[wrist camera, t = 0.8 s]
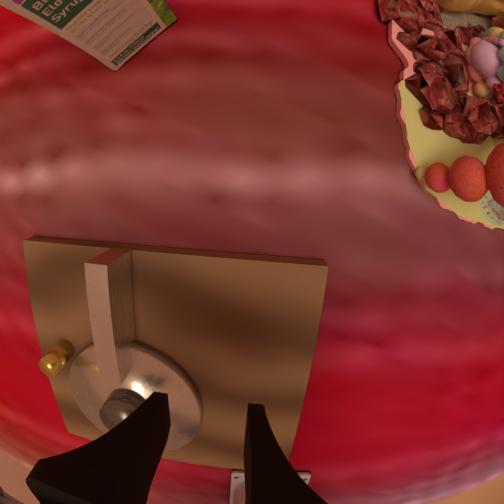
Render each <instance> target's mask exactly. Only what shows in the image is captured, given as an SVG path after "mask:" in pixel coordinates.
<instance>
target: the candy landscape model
mask: <svg viewBox="0 0 504 504" xmlns="http://www.w3.org/2000/svg"><path fill="white" fill-rule="evenodd" d="M378 6H379V11H380V15H381V19H382V22H388V26H389V29H388V43H389V44H390V46H391V47H392V48H393V50H394V51H395V52H396V54H397V55H398V56H399V58H400V59H401V61H402V63H403V65H404V70H403V71H401V72H400V74H399V78H400V80H399V81H398V82H397V84H396V85H395V86H394V92H395V94H396V98H397V111H396V117H397V119H398V121H399V123H400V124H401V127H402V133H403V141H404V144H405V147H406V152H405V156H406V159H407V161H408V163H409V165H410V167H411V169H412V171H413V172H414V174H415V176H416V178H417V180H418V182H419V184H420V186H421V187H422V190H424V191H425V192H427V193H429V194H430V195H432V196H433V197H434V199H435V201H436V203H437V205H438V206H439V207H441V208H444V209H447V210H450V211H451V212H452V213H454V215H455V216H456V217H457V218H459V219H463V220H465V221H468V222H471V223H477V222H480V223H481V225H482V226H484V227H487V228H489V229H494V228H502V229H504V0H378Z"/></svg>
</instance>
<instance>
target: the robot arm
mask: <svg viewBox="0 0 504 504" xmlns="http://www.w3.org/2000/svg"><path fill="white" fill-rule="evenodd" d="M170 427H171V419H170V410H169V401H168V394H167V393H161V392H156V391H155V392H153V393H152V394H151V395H150V396H149V397H148V398H147V399H146V400H145V401H144V402H143V403H142V404H141V405H140V406H139V407H138V408H137V409H136V410H134V411H133V412H132V413H131V414H130V415H129V416H128V417H126V418H125V419H124V420H123V421H122V422H120V423H119V424H118V425H116V426H115V427H114V428H112V429H111V430H110V431H108V432H107V433H105V434H104V435H102V436H100V437H99V438H97V439H95V440H93V441H92V442H90V443H88V444H86V445H84V446H82V447H79V448H77V449H74V450H72V451H69V452H66V453H63V454H60V455H57V456H53V457H48V458H44V459H39V461H38V462H37V463H36V464H35V466H34V467H33V469H32V471H31V472H30V474H29V475H28V477H27V478H26V483H27V486H28V487H29V489H30V490H31V491H32V493H33V494H34V495H35V497H36V498H37V499H38V500H39V501H40V504H146V502H147V498H148V494H149V490H150V486H151V483H152V480H153V477H154V474H155V472H156V469H157V467H158V464H159V462H160V459H161V457H162V454H163V451H164V449H165V446H166V444H167V440H168V436H169V432H170ZM310 478H311V474H310V473H309V472H296V471H295V469H294V468H293V467H292V465H291V464H290V462H289V461H288V459H287V458H286V456H285V455H284V453H283V451H282V449H281V448H280V446H279V444H278V442H277V440H276V438H275V436H274V434H273V431H272V429H271V427H270V424H269V421H268V418H267V415H266V412H265V406H264V405H263V404H251V403H248V408H247V418H246V428H245V440H244V471H240V470H234V471H232V474H231V489H230V504H328V503H327V502H325V501H324V500H323V499H322V498H321V497H320V496H318V495H317V494H316V493H315V492H314V491H313V490H312V489H311V488H310V487H309V486H308V483H309V480H310ZM0 504H23V503H22V502H20V501H18V500H16V499H15V498H13V497H12V496H10V495H8V494H7V493H5V492H4V491H3V490H2V488H1V487H0Z"/></svg>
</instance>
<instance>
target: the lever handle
mask: <svg viewBox="0 0 504 504" xmlns="http://www.w3.org/2000/svg"><path fill="white" fill-rule="evenodd" d="M84 266H85V279H86V289H87V299H88V307H89V315H90V322H91V329H92V336H93V343H91V344H89V345H88V346H87V347H86V348H85V349H84V350H83V351H82V352H81V353H80V354H79V355H78V356H77V357H76V359H75V360H74V361H73V363H72V365H71V369H70V374H69V381H70V387H71V391H72V394H73V397H74V399H75V401H76V403H77V405H78V406H79V408H80V409H81V411H82V412H83V413H84V415H85V416H86V417H87V418H88V419H89V420H90V421H91V422H92V423H93V424H94V425H95V426H96V427H97V428H98V429H99V430H101V431H102V432H103V433H107V432H108V431H110V430H111V429H112V428H114V427H115V426H116V425H118V424H119V423H120V422H122V421H123V420H124V419H125V418H126V417H128V416H129V415H130V414H131V413H132V412H133V411H134V410H136V409H137V408H138V407H139V406H140V405H141V404H142V403H143V402H144V401H145V400H146V399H147V398H148V397H149V396H150V395H151V394H152V393H153V392H155V391H156V392H161V393H167V394H168V401H169V410H170V419H171V427H170V432H169V436H168V440H167V444H166V446H165V449H164V451H171V450H175V449H178V448H181V447H183V446H185V445H186V444H188V443H189V442H190V441H191V440H192V439H193V438H194V437H195V436H196V434H197V432H198V429H199V426H200V422H201V417H202V410H203V408H202V401H201V397H200V394H199V392H198V390H197V388H196V386H195V384H194V383H193V381H192V380H191V378H190V377H189V376H188V375H187V373H186V372H185V371H184V370H183V369H182V368H181V367H180V366H179V365H178V364H176V363H175V362H174V361H173V360H172V359H170V358H169V357H167V356H166V355H164V354H163V353H161V352H159V351H157V350H156V349H154V348H152V347H149V346H147V345H145V344H142V343H139V342H136V333H135V322H134V309H133V293H132V271H131V250H120V249H109V250H107V251H105V252H103V253H101V254H99V255H98V256H96V257H94V258H92V259H90V260H88V261H87V262H85V263H84Z"/></svg>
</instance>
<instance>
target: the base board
mask: <svg viewBox="0 0 504 504" xmlns="http://www.w3.org/2000/svg"><path fill="white" fill-rule="evenodd" d="M23 245H24V256H25V265H26V273H27V281H28V288H29V294H30V300H31V306H32V311H33V316H34V321H35V326H36V330H37V335H38V339H39V343H40V347H41V351H42V355H43V357H44V356H45V355H46V354H47V353H48V352H49V351H50V350H51V349H52V348H53V347H54V346H55V345H57V344H58V343H59V342H60V341H61V340H63V339H64V340H67V341H69V342H70V343H71V344H72V345H73V347H74V349H75V355H74V356H73V357H72V358H71V359H70V360H69V361H68V362H67V363H66V365H65V366H64V367H63V368H62V369H61V370H60V371H59V372H58V373H57V374H56V375H55V377H52V378H51V377H49V380H50V383H51V386H52V389H53V392H54V395H55V398H56V401H57V404H58V407H59V409H60V412H61V415H62V417H63V420H64V423H65V425H66V428H67V430H68V432H69V433H72V434H75V435H78V436H81V437H84V438H86V439H90V440H95V439H97V438H99V437H100V436H102V435H104V434H105V433H103V432H102V431H101V430H99V429H98V428H97V427H96V426H95V425H94V424H93V423H92V422H91V421H90V420H89V419H88V418H87V417H86V416H85V415H84V413H83V412H82V411H81V409H80V408H79V406H78V405H77V403H76V401H75V399H74V397H73V394H72V391H71V387H70V381H69V374H70V369H71V365H72V363H73V361H74V360H75V359H76V357H77V356H78V355H79V354H80V353H81V352H82V351H83V350H84V349H85V348H86V347H87V346H88V345H89V344H91V343H93V336H92V329H91V322H90V315H89V307H88V299H87V289H86V279H85V266H84V263H85V262H87V261H88V260H90V259H92V258H94V257H96V256H98V255H99V254H101V253H103V252H105V251H107V250H109V249H120V250H131V271H132V293H133V309H134V322H135V333H136V342H139V343H142V344H145V345H147V346H149V347H152V348H154V349H156V350H157V351H159V352H161V353H163V354H164V355H166V356H167V357H169V358H170V359H172V360H173V361H174V362H175V363H176V364H178V365H179V366H180V367H181V368H182V369H183V370H184V371H185V372H186V373H187V375H188V376H189V377H190V378H191V380H192V381H193V383H194V384H195V386H196V388H197V390H198V392H199V394H200V397H201V401H202V408H203V410H202V417H201V422H200V426H199V429H198V432H197V434H196V436H195V437H194V438H193V439H192V440H191V441H190V442H189V443H188V444H186V445H185V446H183V447H181V448H178V449H175V450H171V451H163V454H162V457H161V458H162V459H167V460H173V461H178V462H184V463H191V464H197V465H205V466H213V467H222V468H232V469H244V440H245V428H246V418H247V408H248V403H251V404H263V405H264V406H265V412H266V415H267V418H268V421H269V424H270V427H271V429H272V431H273V434H274V436H275V438H276V440H277V442H278V444H279V446H280V448H281V449H282V451H283V453H284V455H285V456H286V458H287V459H288V461H289V458H290V454H291V450H292V446H293V443H294V439H295V435H296V431H297V427H298V423H299V419H300V415H301V410H302V406H303V402H304V397H305V393H306V388H307V384H308V379H309V375H310V370H311V365H312V360H313V355H314V350H315V345H316V340H317V334H318V329H319V323H320V318H321V312H322V306H323V300H324V294H325V287H326V281H327V274H328V267H329V266H328V265H327V263H326V262H325V261H324V260H319V259H307V258H294V257H282V256H269V255H257V254H245V253H232V252H220V251H208V250H195V249H183V248H171V247H159V246H147V245H135V244H122V243H110V242H98V241H86V240H74V239H63V238H51V237H39V236H33V237H30V238H28V239H25V240H23Z"/></svg>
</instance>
